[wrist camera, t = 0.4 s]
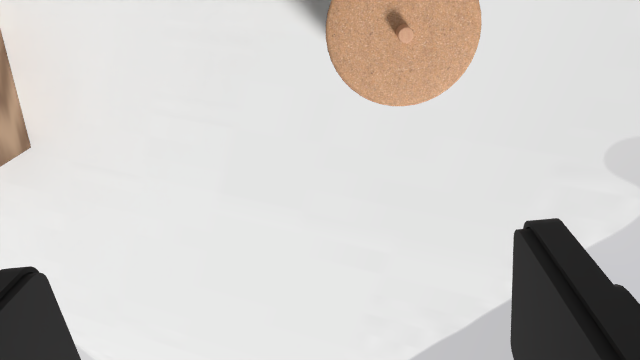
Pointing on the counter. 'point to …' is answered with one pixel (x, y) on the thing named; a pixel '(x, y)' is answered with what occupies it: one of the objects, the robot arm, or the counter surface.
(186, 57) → the counter surface
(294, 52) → the counter surface
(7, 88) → the open walnut box
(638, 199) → the counter surface
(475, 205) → the counter surface
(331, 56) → the lidded jar
